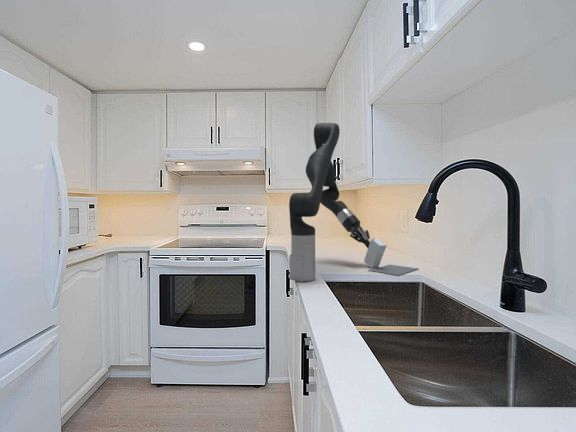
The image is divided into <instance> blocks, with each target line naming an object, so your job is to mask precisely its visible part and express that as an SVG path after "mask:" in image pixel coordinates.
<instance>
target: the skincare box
mask: <svg viewBox="0 0 576 432" xmlns="http://www.w3.org/2000/svg"><path fill="white" fill-rule="evenodd" d="M369 241H370V244H369V247H368V248H367V251H366V254H365V256H364V260H363V261H364V262H365V264H366V265H367V266H368V267H369V268H371V269H375V268H378V267H380V265H381V261H382V259H383V256H384V253H385V251H386V248H387V244H386V243H384V242H383V241H382V240H381V239H380V238H378V237H376V238H370V240H369Z"/></svg>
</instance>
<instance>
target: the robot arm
mask: <svg viewBox="0 0 576 432" xmlns="http://www.w3.org/2000/svg"><path fill="white" fill-rule="evenodd" d="M340 131H341V129H340V125H339V124H338V123H336V122H335V123H334V122H318V123H316V124H315V125H314V127H313V141H314V146H315V151H313V152H312V153H311V155H310V156H309V157H308V160H307V163H306V166H305V175H306V177H307V178H308V181H309V182H310V185H311V190H310V191H309V192H294V193H292V194H291V195H290V197H289V201H288V202H289V203H288V204H289V205H288V209H289V226H290V227H289V228H290V233H291V234H290V235H291V236H290V237H291V238H290V239H291V241H290V246H291V247H290V248H291V249H290V250H291V253H290V255H289V280H290V281H295V282H300V283H303V282H311V281H315V280H316V229H315V226H313V225H310V224H309V223H307V222H305V221H304V220H303V218H312V217H316V216H317V214H318V213H319V210H320V207H321V205H323V207H325V208H326V209H328V210H329V211H331V212H332V214H334V216H335V217H336V218H337V220H338V222H339V223H340V224H341V225H342V226H343V228H344V229H345V230H346V232H348V233H350V234H349V236H350V238H352V239H354V240H355V241H357V242H358V243H362V244H364V246H365V247H366V248H367V249H368V247H369V244H370V241H371V238H370V237H371V236H370V232H369V231H368V229H365V230H364V228H363V227H362V226H361V221H360V220H359V218H358V217H357V216H356V215H355V214H354V212H353V211H352V210H351V209H350V208H349V207H348V206H347V205H346V204H345V202H344V201H342V200H339V198H340V191H339V188H338V185H337V182H336V170H335V166H334V163H333V162H332V157H333V154H334V152H335V149H336V147H337V144H338V141H339V138H340ZM324 187H328V188H327V189H324Z"/></svg>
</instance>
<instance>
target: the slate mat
mask: <svg viewBox="0 0 576 432" xmlns="http://www.w3.org/2000/svg"><path fill="white" fill-rule="evenodd" d="M418 270H419V267H410V266H403V265H397V264H396V265H395V264H386V265H382V266H379V267H378V268H371V269H368V270H367V271H368V272H370V271H372V273H377V272H378V273H379V274H383V275H384V274H385V275H390V276H397V277H400V276H404V275H406V274H408V273H412V272H415V271H418Z"/></svg>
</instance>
